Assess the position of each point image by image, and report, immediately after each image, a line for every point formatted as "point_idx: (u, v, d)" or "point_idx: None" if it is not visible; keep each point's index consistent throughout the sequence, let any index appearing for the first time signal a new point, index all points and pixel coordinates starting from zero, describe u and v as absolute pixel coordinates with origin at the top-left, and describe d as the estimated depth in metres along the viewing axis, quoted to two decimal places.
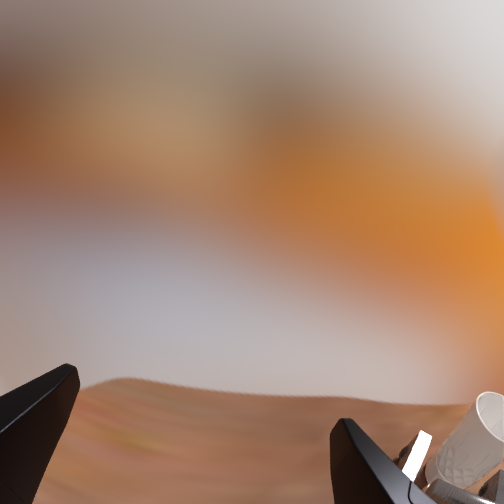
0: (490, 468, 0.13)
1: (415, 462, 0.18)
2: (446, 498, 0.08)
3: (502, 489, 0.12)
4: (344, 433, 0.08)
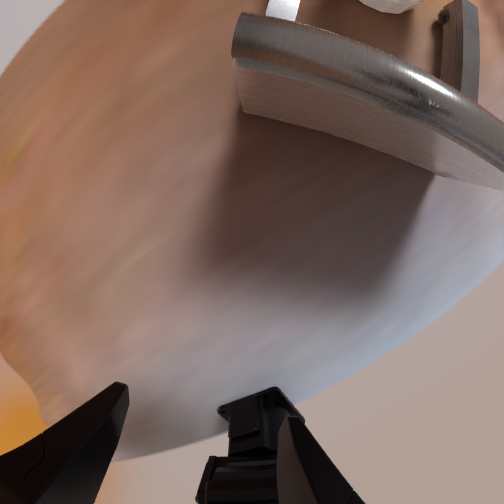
0: None
1: None
2: (276, 56, 0.06)
3: (471, 28, 0.11)
4: (288, 432, 0.07)
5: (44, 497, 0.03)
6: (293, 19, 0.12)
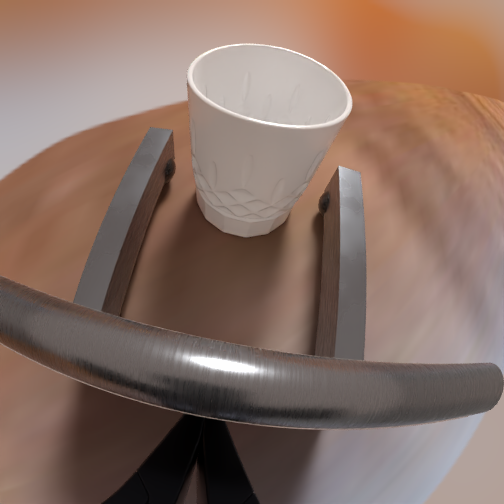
0: (290, 183, 0.14)
1: (136, 181, 0.15)
2: None
3: (352, 204, 0.17)
4: (204, 421, 0.07)
5: None
6: (118, 251, 0.13)
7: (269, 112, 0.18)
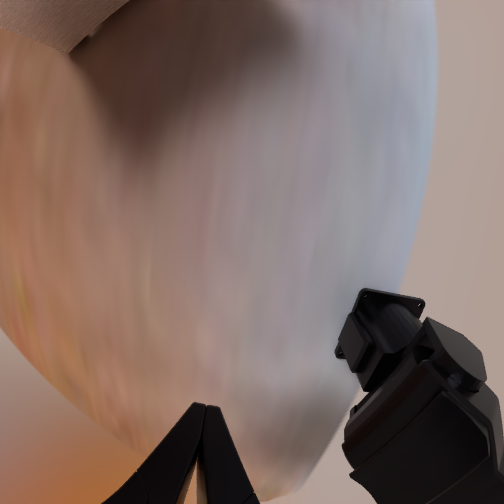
0: None
1: None
2: None
3: None
4: (203, 421, 0.07)
5: None
6: None
7: None
